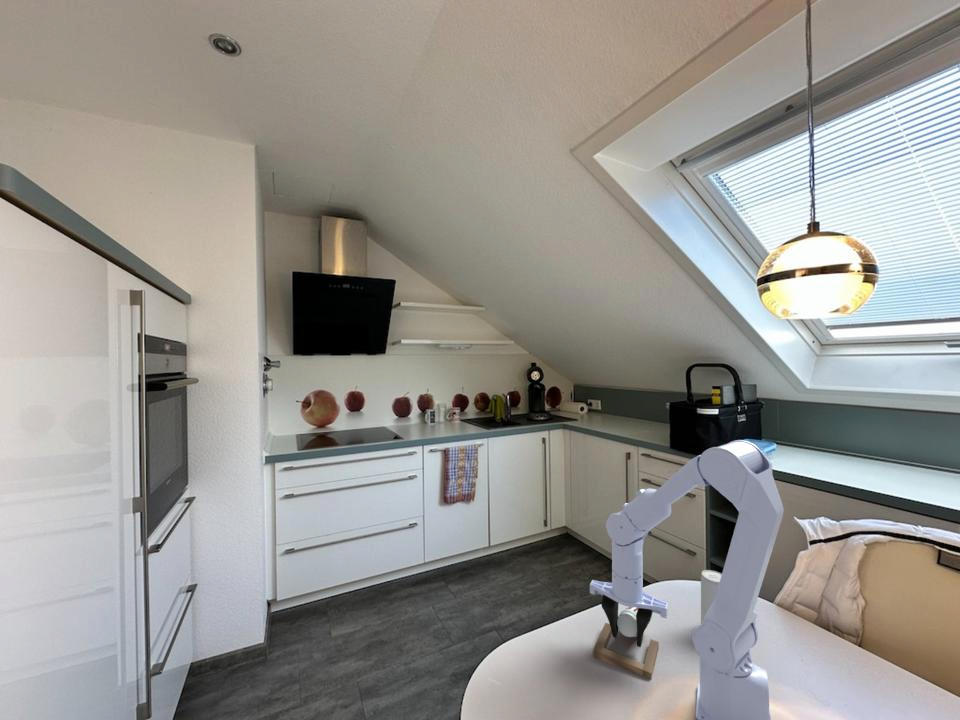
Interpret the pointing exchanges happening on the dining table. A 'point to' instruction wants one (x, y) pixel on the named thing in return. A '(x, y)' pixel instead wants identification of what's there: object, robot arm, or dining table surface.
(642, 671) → the socket block
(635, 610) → the pill bottle
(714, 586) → the beverage can
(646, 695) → the dining table surface
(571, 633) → the dining table surface
